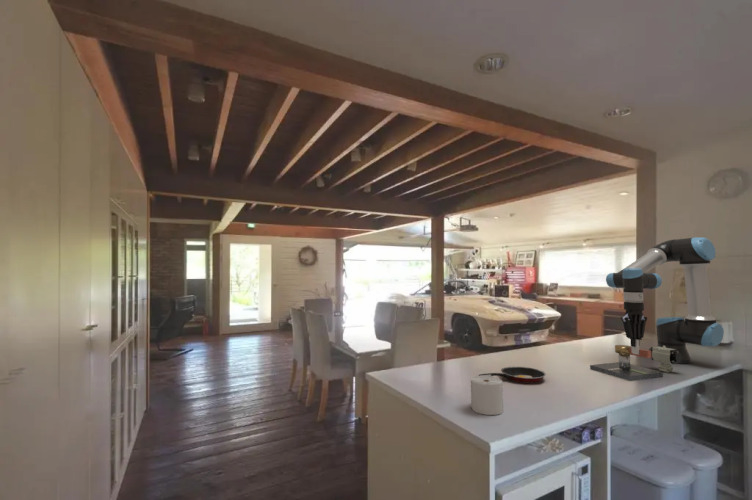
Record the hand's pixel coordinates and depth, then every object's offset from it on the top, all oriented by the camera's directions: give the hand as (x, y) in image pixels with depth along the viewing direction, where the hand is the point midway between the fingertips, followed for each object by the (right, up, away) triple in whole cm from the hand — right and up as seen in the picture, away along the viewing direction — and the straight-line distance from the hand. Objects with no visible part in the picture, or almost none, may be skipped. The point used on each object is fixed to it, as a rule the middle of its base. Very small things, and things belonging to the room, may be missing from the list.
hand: (635, 353), depth 160 cm
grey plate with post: (-1, -11, +6) cm, 12 cm away
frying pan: (-58, -11, -4) cm, 59 cm away
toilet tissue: (-80, -9, -37) cm, 88 cm away
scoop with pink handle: (+1, -1, +3) cm, 3 cm away
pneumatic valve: (+20, -11, +8) cm, 24 cm away
